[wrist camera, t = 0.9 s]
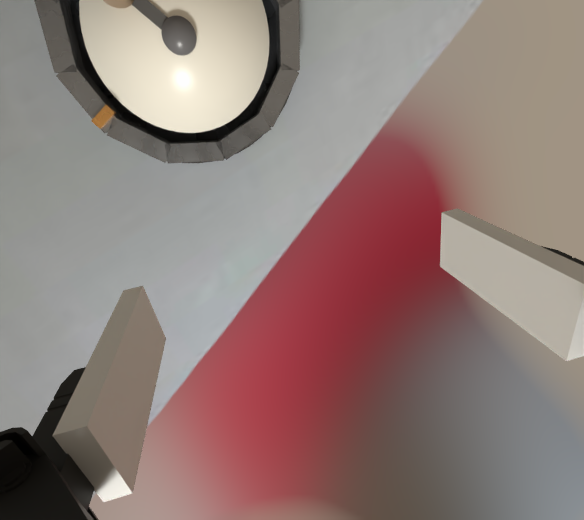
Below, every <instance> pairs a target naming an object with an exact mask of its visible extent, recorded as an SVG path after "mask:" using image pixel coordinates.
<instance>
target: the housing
mask: <svg viewBox="0 0 584 520" xmlns="http://www.w3.org/2000/svg"><path fill="white" fill-rule="evenodd" d="M262 2H263V5H264V9H265V12H266V16H267V22H268V28H269V57H268V63H267V68H266V72H265V75H264V79H263V81H262V83H261V86H260V88H259V90H258V92H257V94H256V95H255V97H254V99H253V100H252V101H251V103H250V104H249V105H248V106H247V108H246V109H245V110H244V111H243V112H242V113H241V114H240V115H239V116H237V117H236V118H234V119H233V120H232V121H230V122H228V123H227V124H225V125H223V126H221V127H218V128H215V129H213V130H209V131H204V132H197V133H183V132H175V131H170V130H166V129H163V128H160V127H157V126H155V125H153V124H151V123H149V122H146V121H144V120H143V119H141V118H140V117H138V116H137V115H135V114H133V113H132V112H131V111H130V110H128V109H127V108H126V107H125V106H123V105H122V104H121V103H120V102H119V101H118V100H117V99H116V98H115V97H114V96H113V94H112V93H111V92H110V91H109V89H108V88H107V87H106V86H105V84H104V83H103V81H102V80H101V78H100V77H99V75H98V73H97V72H96V70H95V68H94V66H93V64H92V62H91V60H90V57H89V54H88V52H87V49H86V47H85V43H84V39H83V35H82V31H81V24H80V14H79V0H35V4H36V7H37V11H38V15H39V18H40V22H41V26H42V29H43V33H44V36H45V40H46V44H47V47H48V51H49V54H50V58H51V62H52V65H53V69H54V72H55V73H59V74H58V75H57V77H58V78H59V80H60V81H61V82H62V83H63V84H64V86H65V87H66V88H67V89H68V90H69V92H70V93H71V94H72V95H73V96H74V98H75V99H76V100H77V101H78V102H79V104H80V105H81V106H82V107H83V108H84V109H85V111H86V112H87V113H88V114H89V115H90V117H91V118H92V122H93V123H94V124H95V125H96V126H98V127H99V128H100V129H101V130H102V131H103V132H104V133H107V132H108V134H107V135H108V136H110V137H112V138H114V139H116V140H118V141H120V142H122V143H124V144H127V145H129V146H131V147H133V148H135V149H137V150H139V151H141V152H143V153H146V154H148V155H150V156H152V157H154V158H156V159H158V160H160V161H163V162H166V161H168V163H203V162H212V161H223V160H224V158H226V160H227V159H228V158H229V157H231V156H232V155H234V154H236V153H239V152H240V151H242V150H244V149H245V148H247V147H249V146H250V145H252V144H253V143H254V142H255V141H257V140H258V139H259V138H261V137H262V135H263V134H265V133H266V132H268V131H269V130H271V128H270V127H271V126H272V127H273V126H274V124H275V122H276V120H277V118H278V116H279V115H280V113H281V111H282V109H283V108H284V106H285V104H286V102H287V99H288V97H289V94H290V92H291V90H292V87H293V84H294V82H295V80H296V78H297V76H298V74H299V73H298V72H297V71H299V70H300V59H299V0H262Z"/></svg>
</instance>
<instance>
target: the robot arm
mask: <svg viewBox="0 0 584 520" xmlns="http://www.w3.org/2000/svg"><path fill="white" fill-rule="evenodd" d="M441 223H442V224H441V253H440V254H441V255H440V267H442V268H443V269H444V270H446V271H447V272H448V273H450V274H451V275H452V276H454V277H455V278H456V279H458V280H459V281H460V282H462V283H463V284H464V285H466V286H467V287H468V288H470V289H471V290H472V291H474V292H475V293H476V294H478V295H479V296H480V297H482V298H483V299H484V300H486V301H487V302H488V303H490V304H491V305H492V306H494V307H495V308H496V309H498V310H499V311H500V312H502V313H503V314H504V315H506V316H507V317H508V318H510V319H511V320H512V321H514V322H515V323H516V324H518V325H519V326H520V327H522V328H523V329H524V330H526V331H527V332H528V333H530V334H531V335H532V336H534V337H535V338H536V339H538V340H539V341H540V342H542V343H543V344H544V345H546V346H547V347H548V348H550V349H551V350H552V351H554V352H555V353H556V354H558V355H559V356H560V357H562V358H563V359H564V360H566V361H569V360H572V359H575V358H578V357H582V356H584V262H583V261H581V260H578V259H576V258H572V256H569V255H567V254H565V253H562V252H560V251H558V250H555V249H550V248H546V247H542V246H539V245H536V244H534V243H532V242H530V241H528V240H526V239H523V238H521V237H519V236H517V235H515V234H512V233H510V232H508V231H506V230H503V229H501V228H499V227H497V226H494V225H493V224H490V223H488V222H486V221H483V220H482V219H479V218H477V217H475V216H473V215H470V214H468V213H466V212H464V211H461V210H459V209H454V210H450V211H446V212H442V221H441ZM165 340H166V337H165V335H164V333H163V331H162V328H161V326H160V324H159V321H158V319H157V317H156V315H155V312H154V310H153V308H152V306H151V303H150V301H149V299H148V297H147V294H146V292H145V290H144V287H143V286H140V287H136V288H132V289H128V290H124V291H123V293H122V295H121V297H120V299H119V301H118V303H117V305H116V307H115V309H114V311H113V313H112V315H111V317H110V319H109V321H108V323H107V325H106V327H105V329H104V332H103V334H102V336H101V338H100V340H99V342H98V344H97V346H96V348H95V350H94V352H93V354H92V356H91V358H90V360H89V362H88V364H87V366H86V367H85V368H81V369H77V370H74V371H73V372H72V373H71V374H70V375H69V376H68V377H67V378H66V380H65V381H64V382H63V383H62V384H61V385H60V387H59V389H58V391H57V393H56V394H55V396H54V400H53V401H52V402H51V404H50V405H49V407H48V409H47V410H48V412H46V413H45V414H44V416H43V418H42V420H41V422H40V424H39V425H38V427H37V429H36V431H35V433H34V435H33V436H31V435H30V433H29V432H28V431H27V430H25V429H24V428H22V427H20V428H11V429H8V430H5V431H2V432H0V520H98V518H97V517H96V515H95V514H94V512H93V511H92V510H91V509H90V507H89V504H90V501H91V498H92V494H93V491H95V492H96V493H97V494H98V496H99V497H100V498H101V500H102V501H103V502H106V501H109V500H112V499H115V498H119V497H122V496H125V495H128V494H132V493H133V489H134V484H135V479H136V475H137V470H138V465H139V461H140V457H141V452H142V447H143V442H144V438H145V433H146V429H147V424H148V419H149V415H150V410H151V405H152V401H153V396H154V391H155V387H156V382H157V378H158V373H159V368H160V364H161V359H162V354H163V350H164V345H165Z"/></svg>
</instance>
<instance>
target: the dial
mask: <svg viewBox="0 0 584 520" xmlns="http://www.w3.org/2000/svg"><path fill="white" fill-rule="evenodd" d="M79 14H80V24H81V31H82V35H83V39H84V43H85V47H86V49H87V52H88V54H89V57H90V60H91V62H92V64H93V66H94V68H95V70H96V72H97V73H98V75H99V77H100V78H101V80H102V81H103V83H104V84H105V86H106V87H107V88H108V89H109V91H110V92H111V93H112V94H113V96H114V97H115V98H116V99H117V100H118V101H119V102H120V103H121V104H122V105H123V106H125V107H126V108H127V109H128V110H130V111H131V112H132V113H133V114H135V115H137V116H138V117H140V118H141V119H143V120H144V121H146V122H149V123H151V124H153V125H155V126H157V127H160V128H163V129H166V130H170V131H175V132H183V133H197V132H204V131H209V130H213V129H215V128H218V127H221V126H223V125H225V124H227V123H228V122H230V121H232V120H233V119H234V118H236V117H237V116H239V115H240V114H241V113H242V112H243V111H244V110H245V109H246V108H247V106H248V105H249V104H250V103H251V101H252V100H253V99H254V97H255V95H256V94H257V92H258V90H259V88H260V86H261V83H262V81H263V79H264V75H265V72H266V68H267V63H268V57H269V28H268V22H267V16H266V12H265V9H264V5H263V2H262V0H79Z"/></svg>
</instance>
